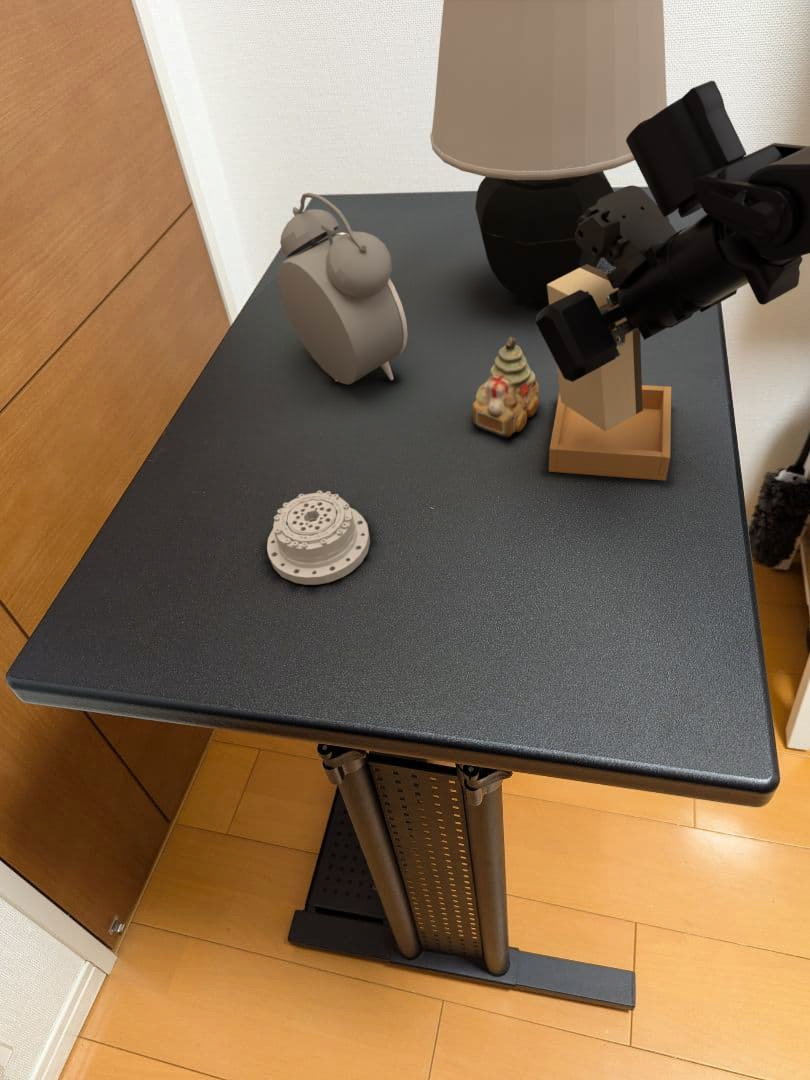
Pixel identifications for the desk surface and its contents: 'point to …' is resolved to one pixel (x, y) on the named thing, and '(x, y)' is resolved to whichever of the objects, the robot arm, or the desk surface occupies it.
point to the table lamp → (543, 118)
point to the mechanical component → (317, 539)
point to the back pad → (612, 385)
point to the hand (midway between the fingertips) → (586, 337)
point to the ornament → (507, 393)
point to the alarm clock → (340, 294)
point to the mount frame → (615, 441)
